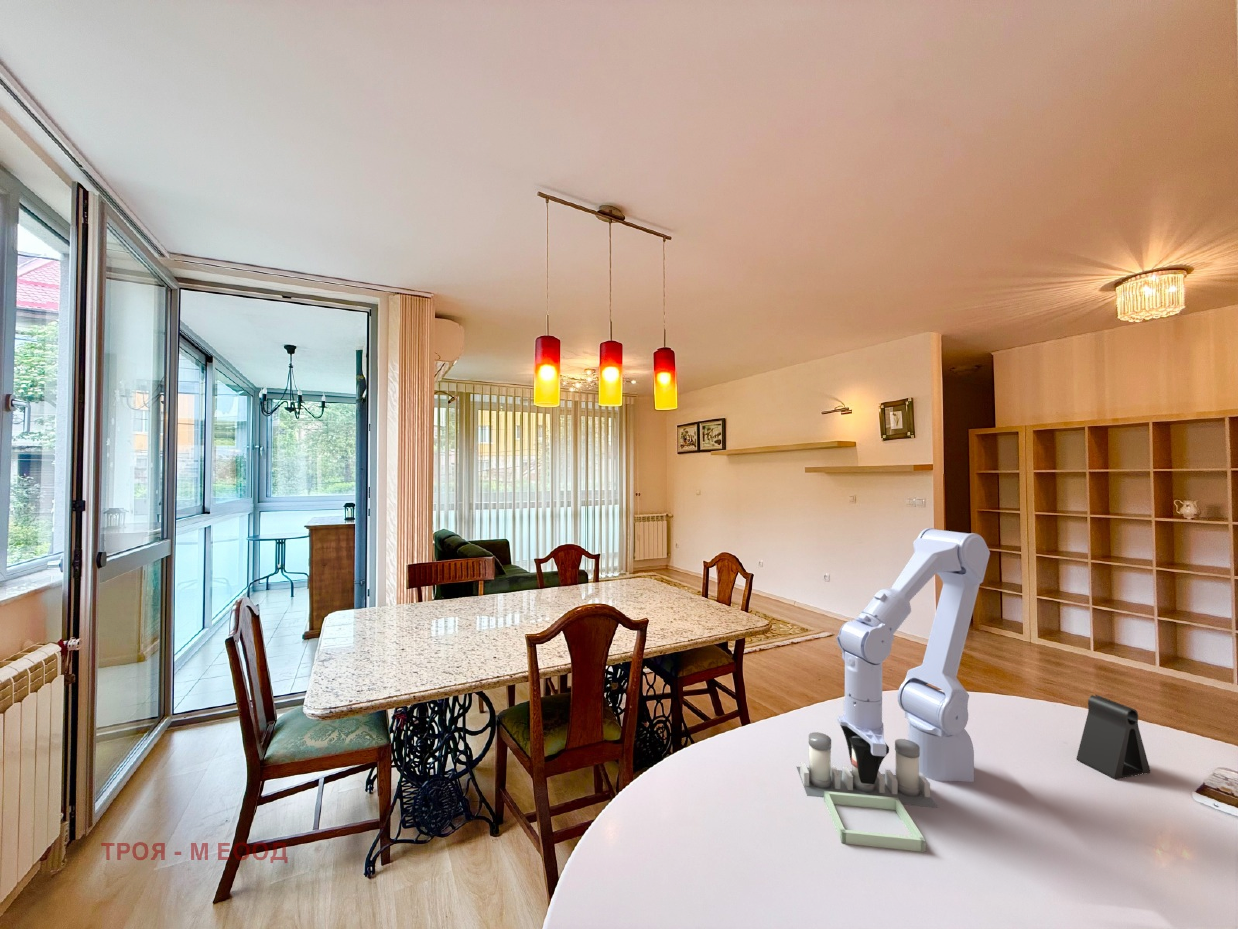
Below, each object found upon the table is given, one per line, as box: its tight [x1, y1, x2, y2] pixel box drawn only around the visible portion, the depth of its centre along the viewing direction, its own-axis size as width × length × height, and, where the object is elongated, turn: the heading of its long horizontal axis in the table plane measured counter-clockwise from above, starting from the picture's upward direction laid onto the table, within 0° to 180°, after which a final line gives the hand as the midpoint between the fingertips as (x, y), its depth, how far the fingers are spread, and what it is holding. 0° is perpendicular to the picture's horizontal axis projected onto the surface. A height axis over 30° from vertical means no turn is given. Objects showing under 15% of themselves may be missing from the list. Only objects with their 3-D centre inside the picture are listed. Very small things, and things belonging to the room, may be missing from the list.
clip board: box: [796, 762, 939, 809], centre depth 84 cm, size 20×8×3 cm, turn 82°
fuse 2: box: [894, 738, 920, 797], centre depth 83 cm, size 4×4×8 cm
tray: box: [823, 791, 927, 853], centre depth 75 cm, size 11×9×3 cm
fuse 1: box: [808, 731, 832, 789], centre depth 85 cm, size 4×4×8 cm
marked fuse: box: [851, 736, 875, 793], centre depth 84 cm, size 4×4×8 cm
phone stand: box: [1076, 694, 1151, 780], centre depth 92 cm, size 9×6×12 cm, turn 103°
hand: (862, 775), depth 84 cm, fingers closed on marked fuse, 3 cm apart
